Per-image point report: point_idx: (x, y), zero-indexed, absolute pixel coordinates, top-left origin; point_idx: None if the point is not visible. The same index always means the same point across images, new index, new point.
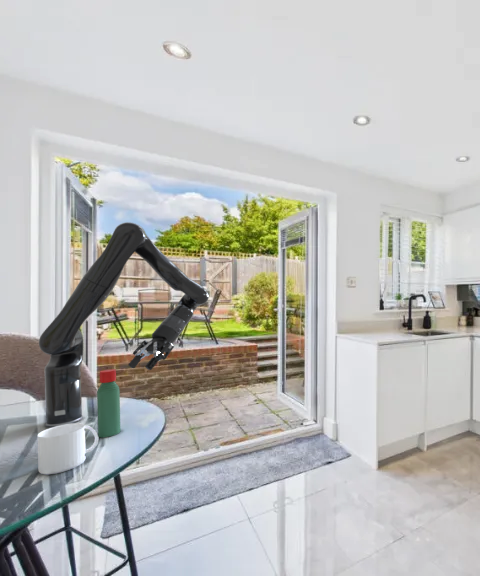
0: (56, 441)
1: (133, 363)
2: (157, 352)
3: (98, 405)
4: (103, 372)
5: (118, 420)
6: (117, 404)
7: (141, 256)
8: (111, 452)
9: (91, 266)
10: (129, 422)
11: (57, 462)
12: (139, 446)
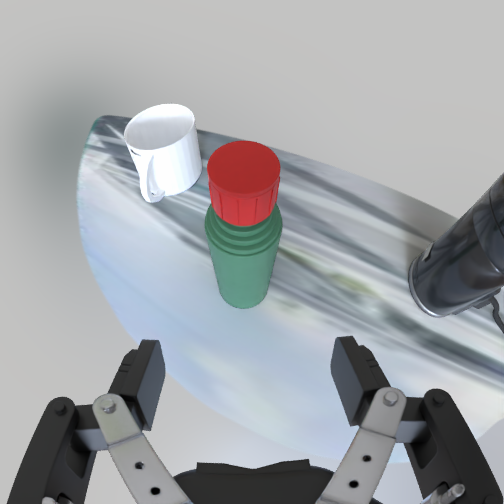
0: (140, 121)
1: (341, 364)
2: (108, 443)
3: None
4: (227, 144)
5: (218, 283)
6: (212, 260)
7: None
8: (133, 227)
9: None
10: (278, 357)
11: (148, 148)
12: (101, 263)
